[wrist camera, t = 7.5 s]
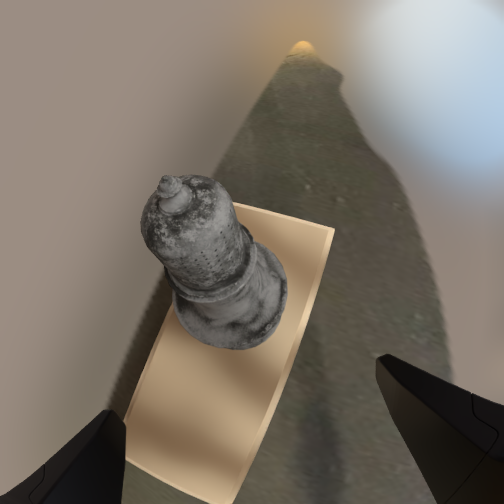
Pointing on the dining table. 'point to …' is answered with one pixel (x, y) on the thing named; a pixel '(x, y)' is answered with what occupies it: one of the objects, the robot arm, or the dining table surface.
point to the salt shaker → (213, 264)
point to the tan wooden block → (223, 377)
